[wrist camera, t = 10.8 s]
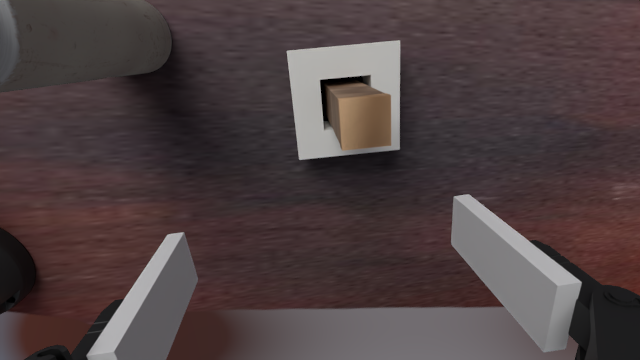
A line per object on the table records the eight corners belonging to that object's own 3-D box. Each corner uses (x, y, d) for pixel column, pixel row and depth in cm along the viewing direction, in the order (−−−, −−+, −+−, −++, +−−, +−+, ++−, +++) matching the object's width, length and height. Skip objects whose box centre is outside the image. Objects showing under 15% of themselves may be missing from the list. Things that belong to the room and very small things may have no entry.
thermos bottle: (89, -2, 35) (-497, -157, 9) (164, -5, 36) (-197, -161, 10) (109, 74, 38) (-292, 121, 12) (178, 71, 39) (-68, 110, 13)
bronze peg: (326, 115, 42) (342, 150, 27) (323, 82, 40) (339, 100, 25) (357, 112, 42) (391, 145, 27) (356, 79, 40) (390, 95, 25)
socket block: (298, 148, 43) (299, 159, 38) (287, 51, 39) (286, 50, 34) (388, 139, 43) (399, 149, 39) (387, 41, 39) (400, 40, 34)
